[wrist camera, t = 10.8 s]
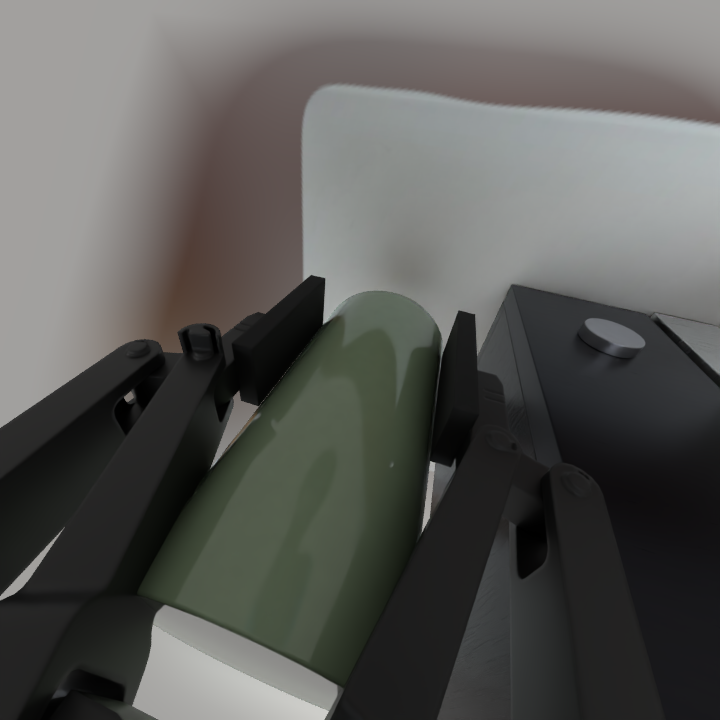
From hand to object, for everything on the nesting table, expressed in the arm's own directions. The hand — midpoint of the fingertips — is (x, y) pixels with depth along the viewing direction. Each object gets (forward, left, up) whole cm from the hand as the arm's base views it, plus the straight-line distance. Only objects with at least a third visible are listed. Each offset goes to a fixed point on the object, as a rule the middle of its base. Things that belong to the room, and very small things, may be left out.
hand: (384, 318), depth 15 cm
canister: (+2, -1, -1) cm, 3 cm away
